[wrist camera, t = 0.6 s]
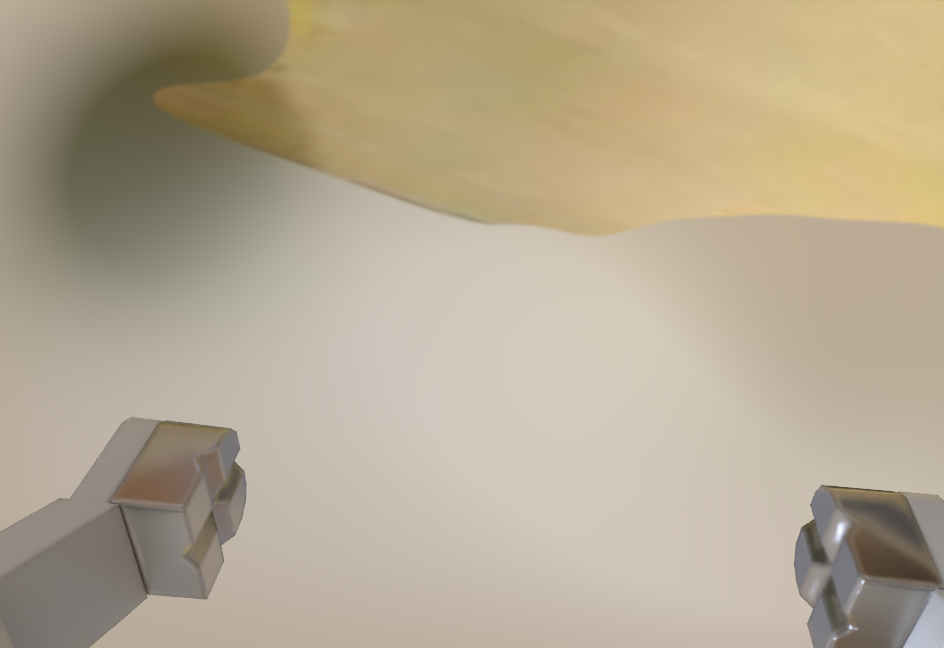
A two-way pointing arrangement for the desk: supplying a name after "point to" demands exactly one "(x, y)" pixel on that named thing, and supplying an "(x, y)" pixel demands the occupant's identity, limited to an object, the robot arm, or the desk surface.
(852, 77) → the desk surface
